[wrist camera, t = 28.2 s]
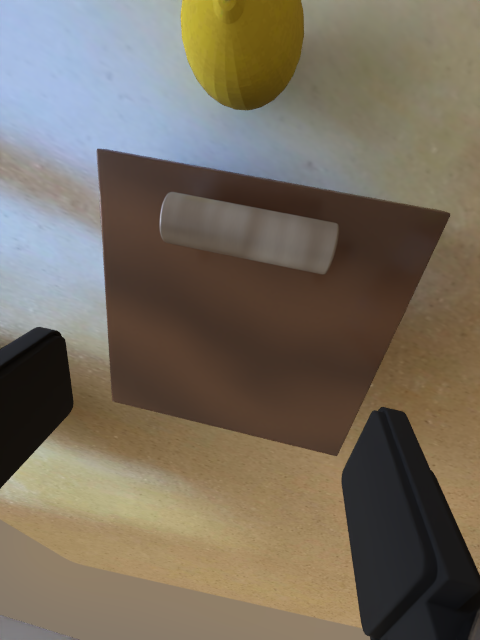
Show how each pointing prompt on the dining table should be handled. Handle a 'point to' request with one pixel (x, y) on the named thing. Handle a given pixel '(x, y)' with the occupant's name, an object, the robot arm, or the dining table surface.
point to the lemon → (243, 47)
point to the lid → (252, 295)
